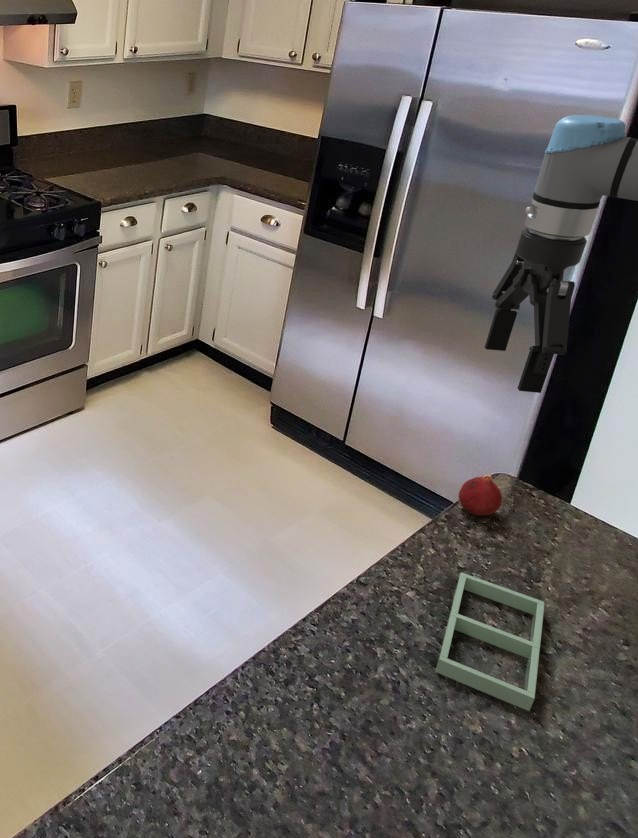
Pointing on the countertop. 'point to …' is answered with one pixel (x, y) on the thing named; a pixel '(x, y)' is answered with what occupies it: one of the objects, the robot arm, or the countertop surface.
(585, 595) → the countertop surface
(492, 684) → the holder
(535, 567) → the countertop surface
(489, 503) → the onion
